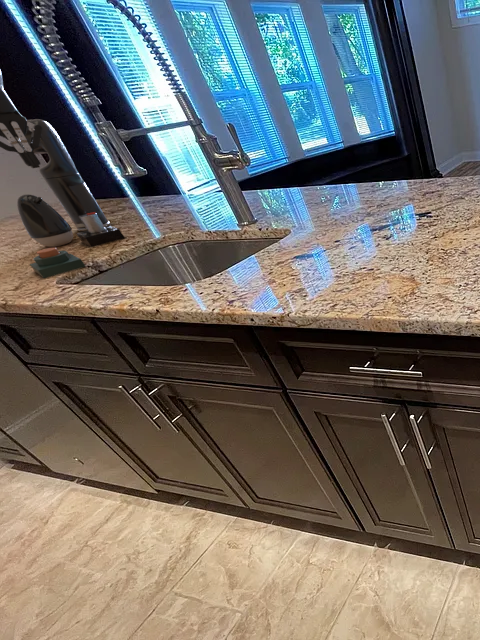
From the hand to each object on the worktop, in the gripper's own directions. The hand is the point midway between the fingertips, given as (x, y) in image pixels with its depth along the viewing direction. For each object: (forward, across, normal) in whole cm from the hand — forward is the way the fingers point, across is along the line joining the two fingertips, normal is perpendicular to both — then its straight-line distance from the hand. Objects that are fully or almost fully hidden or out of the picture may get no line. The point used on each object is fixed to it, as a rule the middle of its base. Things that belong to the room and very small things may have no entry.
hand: (35, 167), depth 115 cm
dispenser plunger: (+19, +11, +14) cm, 26 cm away
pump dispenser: (+23, +4, -20) cm, 31 cm away
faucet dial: (+20, -6, -9) cm, 23 cm away
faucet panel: (+23, -6, -9) cm, 25 cm away
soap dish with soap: (+22, +11, +14) cm, 29 cm away
